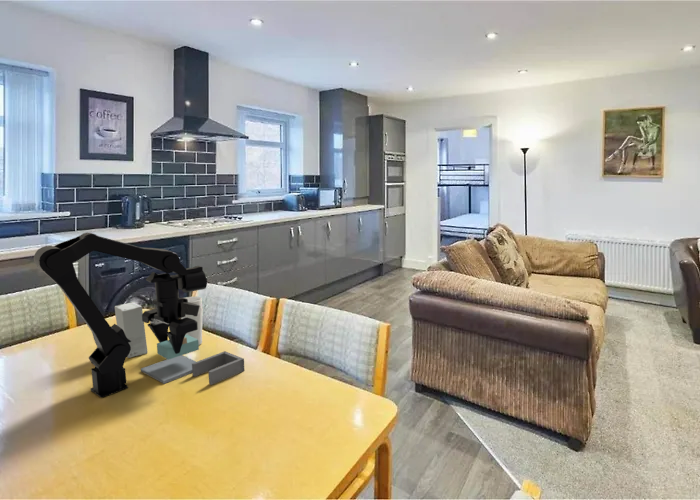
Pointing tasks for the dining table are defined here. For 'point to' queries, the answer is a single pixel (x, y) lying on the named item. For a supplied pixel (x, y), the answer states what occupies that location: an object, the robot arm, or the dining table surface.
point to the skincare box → (132, 327)
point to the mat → (169, 369)
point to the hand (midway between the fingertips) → (171, 350)
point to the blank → (187, 347)
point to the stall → (219, 366)
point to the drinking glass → (196, 318)
